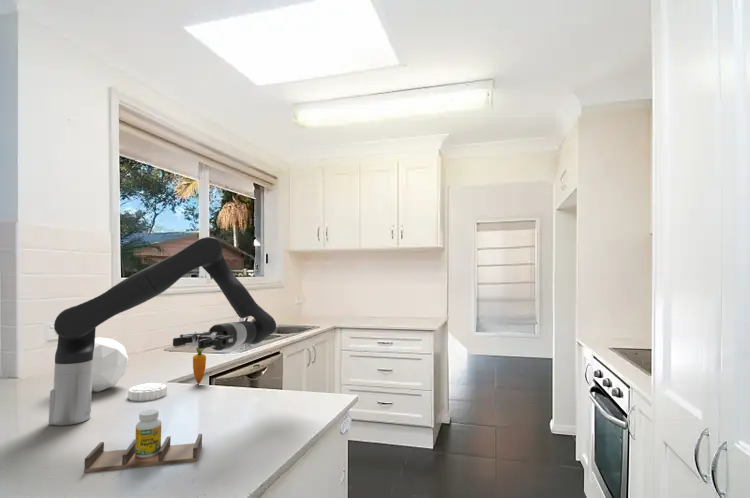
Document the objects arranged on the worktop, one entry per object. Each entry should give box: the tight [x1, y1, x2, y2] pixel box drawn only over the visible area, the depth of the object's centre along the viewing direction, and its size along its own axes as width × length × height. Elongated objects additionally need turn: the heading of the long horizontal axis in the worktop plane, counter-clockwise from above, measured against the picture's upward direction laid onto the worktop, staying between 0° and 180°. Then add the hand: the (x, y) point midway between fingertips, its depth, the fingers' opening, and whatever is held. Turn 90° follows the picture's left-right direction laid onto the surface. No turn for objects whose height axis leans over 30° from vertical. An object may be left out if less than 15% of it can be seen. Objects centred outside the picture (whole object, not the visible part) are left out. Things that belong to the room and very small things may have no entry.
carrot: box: [192, 346, 207, 385], centre depth 166 cm, size 5×5×15 cm
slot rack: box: [83, 433, 203, 474], centre depth 99 cm, size 23×9×3 cm, turn 105°
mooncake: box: [127, 382, 168, 402], centre depth 149 cm, size 12×12×4 cm
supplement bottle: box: [135, 409, 162, 458], centre depth 100 cm, size 5×5×10 cm
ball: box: [92, 337, 130, 392], centre depth 157 cm, size 19×20×20 cm
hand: (186, 343), depth 111 cm, fingers open, 8 cm apart
